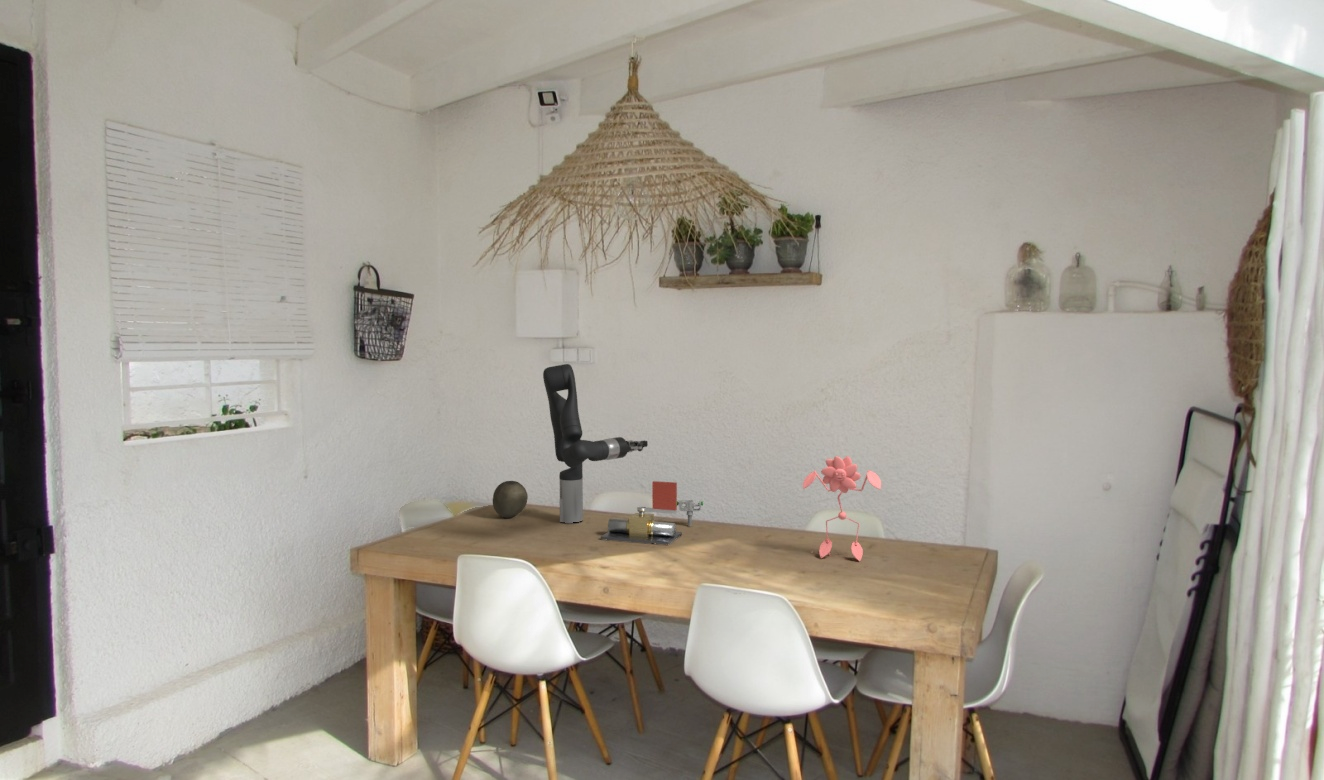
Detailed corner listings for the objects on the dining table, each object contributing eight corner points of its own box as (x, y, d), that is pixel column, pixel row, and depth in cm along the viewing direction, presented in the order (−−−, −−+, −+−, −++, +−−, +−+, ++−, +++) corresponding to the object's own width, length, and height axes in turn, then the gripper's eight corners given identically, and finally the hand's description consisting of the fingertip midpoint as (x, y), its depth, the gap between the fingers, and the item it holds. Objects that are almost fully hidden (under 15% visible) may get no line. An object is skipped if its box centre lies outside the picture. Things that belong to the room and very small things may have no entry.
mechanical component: (702, 527, 322) (702, 501, 322) (676, 527, 322) (676, 501, 322) (702, 525, 325) (702, 500, 325) (676, 525, 325) (676, 500, 325)
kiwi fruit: (492, 522, 332) (492, 484, 331) (492, 514, 346) (492, 479, 345) (528, 520, 335) (528, 483, 334) (527, 513, 349) (526, 477, 348)
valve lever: (674, 514, 299) (674, 483, 299) (635, 511, 304) (635, 481, 304) (677, 512, 302) (677, 482, 302) (639, 509, 307) (639, 479, 307)
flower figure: (805, 551, 284) (805, 450, 281) (882, 559, 275) (883, 454, 272) (795, 564, 270) (795, 458, 267) (876, 572, 261) (877, 462, 258)
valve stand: (600, 539, 303) (600, 513, 302) (617, 530, 318) (617, 505, 317) (668, 545, 294) (668, 518, 294) (681, 535, 309) (681, 509, 309)
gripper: (624, 440, 292) (658, 435, 304) (599, 436, 301) (633, 431, 314) (624, 461, 293) (658, 455, 305) (599, 457, 302) (633, 451, 314)
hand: (646, 443), depth 309 cm, fingers closed
